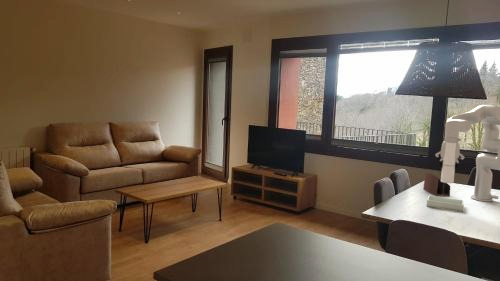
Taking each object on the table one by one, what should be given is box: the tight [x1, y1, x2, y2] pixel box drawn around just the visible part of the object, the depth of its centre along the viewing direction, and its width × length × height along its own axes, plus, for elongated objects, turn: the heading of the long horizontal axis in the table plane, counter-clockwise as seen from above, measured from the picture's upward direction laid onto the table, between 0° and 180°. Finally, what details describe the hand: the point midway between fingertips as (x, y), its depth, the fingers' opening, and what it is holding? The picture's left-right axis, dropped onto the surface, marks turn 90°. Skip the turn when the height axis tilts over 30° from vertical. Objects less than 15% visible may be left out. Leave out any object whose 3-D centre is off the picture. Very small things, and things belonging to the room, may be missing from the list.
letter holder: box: [422, 172, 451, 198], centre depth 271 cm, size 10×20×14 cm, turn 179°
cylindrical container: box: [440, 142, 457, 184], centre depth 233 cm, size 7×7×25 cm
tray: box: [426, 195, 465, 213], centre depth 236 cm, size 20×14×4 cm
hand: (448, 168), depth 234 cm, fingers closed on cylindrical container, 7 cm apart
